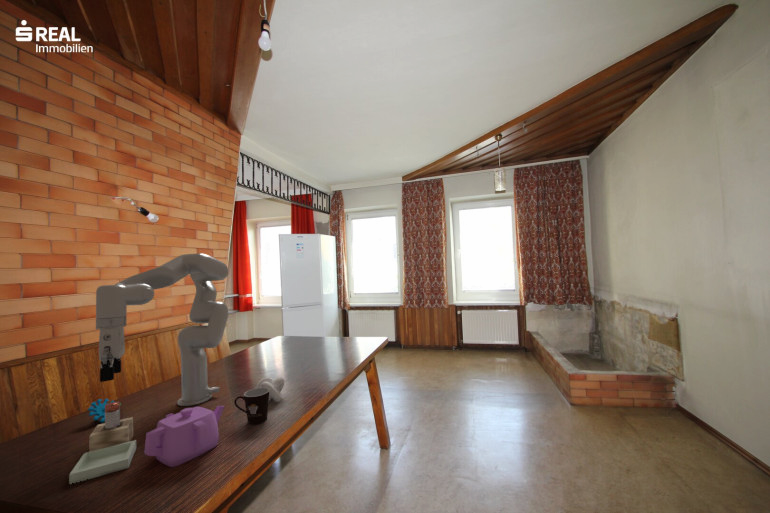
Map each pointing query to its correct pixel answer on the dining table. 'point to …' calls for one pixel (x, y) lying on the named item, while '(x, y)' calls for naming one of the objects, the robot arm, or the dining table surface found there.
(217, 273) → the robot arm
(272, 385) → the grey torus knot
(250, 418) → the coffee mug
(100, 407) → the gear
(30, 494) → the dining table surface
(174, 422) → the teakettle
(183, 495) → the dining table surface
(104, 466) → the tray
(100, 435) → the socket block
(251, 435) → the dining table surface
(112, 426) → the metal peg
